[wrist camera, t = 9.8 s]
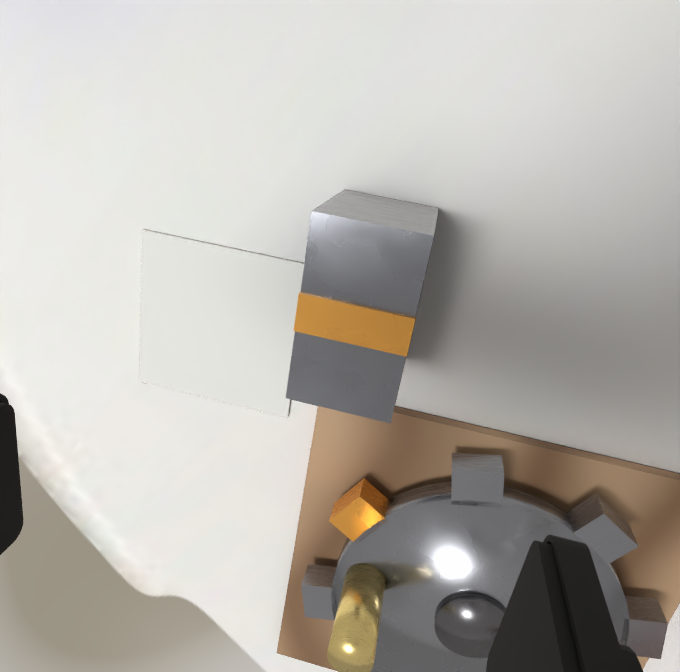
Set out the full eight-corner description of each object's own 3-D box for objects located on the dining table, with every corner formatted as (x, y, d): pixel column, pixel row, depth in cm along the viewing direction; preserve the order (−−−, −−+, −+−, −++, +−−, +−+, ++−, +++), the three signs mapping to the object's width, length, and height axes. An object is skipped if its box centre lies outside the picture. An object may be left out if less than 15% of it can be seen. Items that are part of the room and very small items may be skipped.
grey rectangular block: (439, 207, 23) (434, 236, 17) (404, 358, 26) (390, 425, 20) (344, 189, 23) (310, 211, 18) (320, 338, 26) (283, 399, 20)
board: (732, 486, 25) (743, 500, 24) (596, 737, 32) (600, 756, 31) (322, 389, 27) (318, 398, 26) (279, 644, 34) (274, 658, 33)
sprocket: (365, 406, 25) (342, 482, 20) (725, 536, 24) (801, 652, 19) (278, 643, 32) (244, 747, 27) (558, 753, 31) (579, 884, 26)
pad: (310, 264, 25) (309, 265, 25) (288, 416, 28) (287, 418, 28) (143, 229, 26) (142, 229, 26) (140, 380, 29) (139, 381, 29)
